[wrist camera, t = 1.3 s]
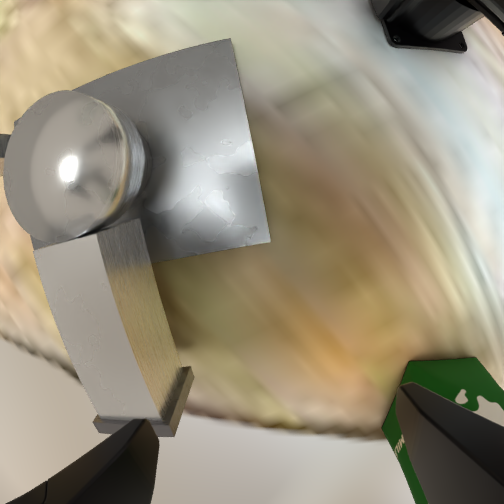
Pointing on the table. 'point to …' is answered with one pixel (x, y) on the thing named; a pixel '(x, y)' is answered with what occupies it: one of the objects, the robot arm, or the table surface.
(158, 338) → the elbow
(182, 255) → the base
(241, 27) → the table surface
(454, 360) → the milk carton
